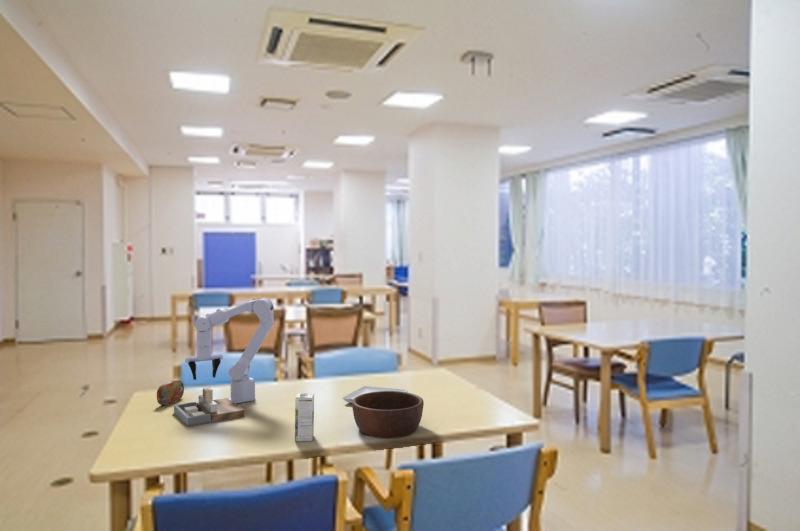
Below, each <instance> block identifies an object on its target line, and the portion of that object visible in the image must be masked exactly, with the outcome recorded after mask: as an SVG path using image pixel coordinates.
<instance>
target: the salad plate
mask: <svg viewBox="0 0 800 531" xmlns="http://www.w3.org/2000/svg"><path fill="white" fill-rule="evenodd" d="M378 391H399V392H407V393H408V391H409V390H408V389H402V388H392V387H382V386H371V385H370V386H369V385H363V386H362V387H359V388H358V389H356V390H353V391H351V392H350V393H347V394H346V395H344V396H342V399H343V401H344V402H346V403H349V404H352V401H353V399H354V398H355V397H357V396H359V395H362V394H365V393H370V392H378Z"/></svg>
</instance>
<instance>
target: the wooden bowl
mask: <svg viewBox="0 0 800 531" xmlns="http://www.w3.org/2000/svg"><path fill="white" fill-rule="evenodd" d="M351 404H352V405H351V406H352V414H353V418H354V422H355V424H356V426H357V429H358V430H359V431H360V432H361V433H362V434H365V435H367V436H370V437H375V438H379V439H380V438H383V439H391V438H392V439H395V438H401V437H406V436H409V435H411V434H413V433H414V432H415V431H416V430H417V429H418V427H419V425H420V423H421V421H422V417H423V412H424V404H425V403H424V399H423V398H422V397H421V396H420V395H417V394H414V393H412V392H408V391H407V392H399V391H378V392H370V393H365V394H362V395H359V396H357V397H355V398H354V399H353V401H352V403H351Z"/></svg>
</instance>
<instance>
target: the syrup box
mask: <svg viewBox="0 0 800 531" xmlns="http://www.w3.org/2000/svg"><path fill="white" fill-rule="evenodd" d="M294 404H295V409H294V410H295V411H294V413H295V414H294V416H295V417H294V442H312V441H313V439H314V438H313V437H314V434H315V433H314V432H315V430H314V429H315V428H314V426H315V394H314V393H311V392H309V393H308V392H302V393H301V392H300V393H297V395H296V397H295V403H294Z"/></svg>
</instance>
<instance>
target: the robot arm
mask: <svg viewBox="0 0 800 531" xmlns="http://www.w3.org/2000/svg"><path fill="white" fill-rule="evenodd" d="M246 312H248V313H254V314H255V315H256V316H257V317H258V320H259V326H258V327H257V329H256V330H255V332H254V334H253V336H251V337H252V338H251V339H250V341H249V343H248V344H247V346H246V347H245V349H244V351H243V353H242V354H241V356H240V357H239V359H237V361H236V362H235V364H234V365H233V366H231V367H230V368H229V371H228V375H229V377H230V397H228V399H229V400H231V401H232V402H234V403H235V404H242V403H246V402H251V401H256V383H255V379H254V378H253V377H249V375H248V374H249V372H250V368H251V367H250V366H251V364H252V362H253V360H254V358H255V356H256V355H257V353H258V351H259V349H260V348H261V346H262V345H263V343H264V341H265V339H266V337H267V336H268V334H269V333H270V331H271V329H272V328H273V326H274V324H275V319H274V318H275V317H274V316H275V315H274V312H275V307H274V305H273V302H272V300H271V299H270V298H269V297H268V298H267V297H261V298H260V299H254V300H253V299H252V300H250V301H247V302H244V303H242V304H240V305H238V306H235V307H233V308H230V309H228V310H226V309H224V308H221V309H220V308H217V309H216V310H215V311H213V312H212V313H206V314H205V316H201V317H199V318H197V319H196V320H195V322H194V328H195V330H196V355H194V356H187V357H185V359H184V360H185V361H184V362H185V363H186V364H188V367H189V369H190V372H191V374H192V379H193V380H194V381H197V364H196V362H197V363H198V362H206V361H207V362H208V361H211V364H212V365H211V366H212V378H216V377H217V376H216V375H217V372H218V370H219V369H218V368H219V367H220V365H221V360H223V359H224V355H223V354H222V353H221V354H220V353H218V354H217V353H216V354H212V328H215V327H218V326H221V325H223V324H225V323H228V322H229V320H230V319H231V318H232V317H235V316H238V315H241V314H242V313H246Z"/></svg>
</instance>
